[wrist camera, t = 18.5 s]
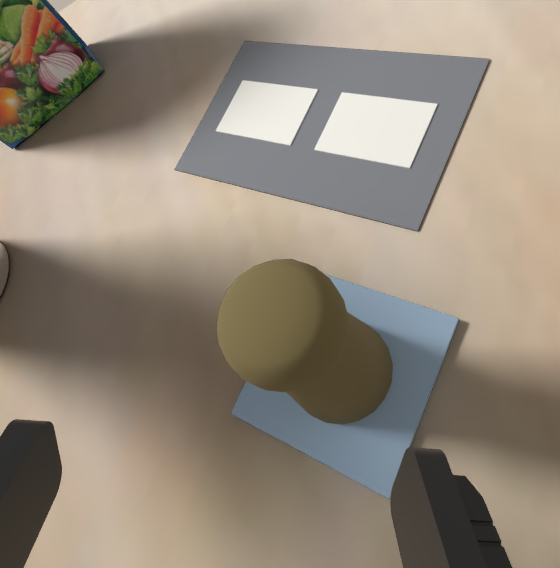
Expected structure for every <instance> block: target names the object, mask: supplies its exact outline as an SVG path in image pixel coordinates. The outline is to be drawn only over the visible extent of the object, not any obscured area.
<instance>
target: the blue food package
mask: <svg viewBox="0 0 560 568" xmlns="http://www.w3.org/2000/svg"><path fill="white" fill-rule="evenodd" d="M103 71H104V69H103V68H102V67H101V65H100V64H99V62H98V61H97V59H96V58H95V56H94V55H93V53H92V52H91V51H90V49H89V48H88V46H87V45H86V44H85V42H84V41H83V40H82V39H81V38H80V37H79V36H78V35H77V33H76V32H75V31H74V30H73V29H72V28H71V27H70V26H69V25H68V23H67V22H66V21H65V20H64V19H63V18H62V17H61V16H60V14H59V13H58V12H57V11H56V10H55V9H54V8H53V7H52V6H51V5H50V4H49V2H48V1H47V0H0V141H2V142H3V143H5V144H6V145H7V146H9V147H10V148H12V149H13V148H14V147H16V146H17V145H18V144H19V143H20V142H21V141H23V140H24V139H26V138H27V137H29V136H30V135H32V134H33V133H34V132H35V131H36V130H37V129H38V128H39V127H40V126H42V125H43V124H44V123H45V122H46V121H47V120H49V119H50V118H51V117H52V116H54V115H55V114H56V113H58V112H59V111H60V110H61V109H62V108H64V107H65V106H66V105H67V104H69V103H70V102H71V101H72V100H73V99H75V98H76V97H77V96H78V95H79V94H80V93H81V92H82V91H83V90H84V89H85V88H86V87H87V86H88V85H89V84H90V83H91V82H92V81H93V80H94V79H95V78H96V77H97V76H98V75H99V74H100V73H101V72H103Z"/></svg>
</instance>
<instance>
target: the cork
mask: <svg viewBox="0 0 560 568" xmlns="http://www.w3.org/2000/svg"><path fill="white" fill-rule="evenodd" d="M217 335H218V344H219V347H220V349H221V351H222V353H223V356H224V358H225V360H226V362H227V363H228V364H229V366H230V367H231V368H232V369H233V370H234V371H235V372H236V373H237V374H238V375H239V376H240V377H241V378H242V379H243V380H244V381H246V382H248V383H250V384H252V385H255V386H257V387H259V388H261V389H264V390H267V391H277V392H287V393H288V394H289V395H290V396H291V397H292V398H293V399H294V400H295V401H296V402H297V403H298V404H299V405H300V406H301V407H302V408H303V409H304V410H305V411H306V412H308V413H309V414H310V415H311V416H313V417H315V418H317V419H319V420H321V421H323V422H325V423H333V424H342V425H343V424H347V423H352V422H356V421H360V420H361V419H363V418H365V417H366V416H368V415H370V414H371V413H373V412H374V411H375V410H376V409H377V408H378V407H379V405H380V404H381V403H382V402H383V401H384V399H385V398H386V396H387V393H388V391H389V388H390V385H391V383H392V372H393V363H392V359H391V356H390V352H389V348H388V347H387V345H386V344H385V342H384V341H383V339H382V338H381V336H380V335H379V334H378V333H377V332H376V331H375V330H373V329H372V328H371V327H369V326H368V325H367V324H365V323H364V322H362V321H361V320H359V319H358V318H356V317H355V316H353V315H351V314H350V313H348V312H347V310H346V306H345V302H344V299H343V298H342V296H341V294H340V293H339V291H338V290H337V288H336V287H335V285H334V284H333V282H332V281H331V279H330V278H329V277H327V276H326V275H325V274H323V273H322V272H321V271H319V270H318V269H317V268H316V267H313V266H311V265H309V264H305V263H302V262H299V261H296V260H293V259H284V260H272V261H269V262H265V263H262V264H259V265H256V266H254V267H252V268H251V269H250V270H248V271H247V272H245V273H244V274H242V275H241V276H239V277H238V279H237V280H236V281H235V282H234V283H233V284H232V285H231V287H230V288H229V289H228V291H227V293H226V295H225V297H224V299H223V301H222V303H221V305H220V310H219V315H218V321H217Z"/></svg>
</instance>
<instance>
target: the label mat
mask: <svg viewBox="0 0 560 568" xmlns="http://www.w3.org/2000/svg"><path fill="white" fill-rule="evenodd" d="M489 60H490V59H486V58H473V57H459V56H445V55H432V54H418V53H404V52H390V51H377V50H363V49H349V48H336V47H322V46H308V45H294V44H281V43H267V42H253V41H245V42H244V43H243V45H242V47H241V49H240V51H239V52H238V54H237V56H236V58H235V60H234V62H233V63H232V65H231V67H230V69H229V71H228V73H227V74H226V76H225V78H224V80H223V82H222V84H221V85H220V87H219V89H218V91H217V93H216V94H215V96H214V98H213V100H212V102H211V104H210V105H209V107H208V109H207V111H206V113H205V115H204V116H203V118H202V120H201V122H200V124H199V125H198V127H197V129H196V131H195V133H194V135H193V136H192V138H191V140H190V142H189V144H188V146H187V147H186V149H185V151H184V153H183V155H182V156H181V158H180V160H179V162H178V164H177V166H176V167H175V170H177V171H181V172H185V173H189V174H193V175H197V176H201V177H205V178H209V179H213V180H217V181H221V182H225V183H228V184H232V185H236V186H240V187H244V188H248V189H252V190H256V191H260V192H264V193H268V194H272V195H276V196H280V197H284V198H288V199H292V200H296V201H300V202H304V203H307V204H311V205H315V206H319V207H323V208H327V209H331V210H335V211H339V212H343V213H347V214H351V215H355V216H359V217H363V218H367V219H371V220H375V221H379V222H383V223H386V224H390V225H394V226H398V227H402V228H406V229H410V230H414V231H418V229H419V227H420V225H421V222H422V220H423V217H424V215H425V213H426V210H427V208H428V205H429V203H430V201H431V198H432V196H433V194H434V191H435V189H436V186H437V184H438V182H439V179H440V177H441V174H442V172H443V170H444V167H445V165H446V163H447V160H448V158H449V155H450V153H451V151H452V148H453V146H454V143H455V141H456V139H457V136H458V134H459V132H460V129H461V127H462V124H463V122H464V120H465V117H466V115H467V112H468V110H469V108H470V105H471V103H472V101H473V98H474V96H475V93H476V91H477V89H478V86H479V84H480V82H481V79H482V77H483V74H484V72H485V70H486V67H487V65H488V62H489Z"/></svg>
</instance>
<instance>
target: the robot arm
mask: <svg viewBox="0 0 560 568" xmlns="http://www.w3.org/2000/svg"><path fill="white" fill-rule="evenodd" d="M8 271H9V259H8V254H7V251H6V249H5V247H4V245H2V244H1V243H0V296H1V294H2V292H3V289H4V287H5V284H6V281H7V276H8ZM61 475H62V465H61V460H60V455H59V450H58V445H57V440H56V435H55V430H54V426H53V424H52V423H51V422H48V421H33V420H18V419H16V420H13V421H12V422H10V423H9V424H8V426H7V427H6V429H5V430H4V432H3V433H2V435H1V436H0V568H24V565H25V563H26V561H27V559H28V557H29V554H30V552H31V550H32V548H33V545H34V543H35V541H36V539H37V537H38V534H39V532H40V530H41V528H42V526H43V523H44V521H45V519H46V517H47V515H48V512H49V510H50V508H51V506H52V504H53V501H54V499H55V497H56V495H57V492H58V489H59V485H60V481H61ZM391 514H392V519H393V523H394V528H395V532H396V537H397V541H398V546H399V550H400V555H401V559H402V564H403V568H512V566H511V564H510V561H509V559H508V557H507V554H506V552H505V549H504V547H502V546H501V540H500V537H499V535H498V533H497V530H496V528H495V526H493V521H492V518H491V516H490V514H489V511H488V509H487V506H486V504H485V502H484V499H483V497H482V496H481V495H480V493H479V492H478V491H477V490H476V489H475V487H474V486H473V485H472V484H471V482H470V481H469V480H468V479H467V478H466V476H459V475H453V474H452V472H451V469H450V466H449V464H448V461H447V458H446V456H445V454H444V453H443V451H441V450H439V449H425V448H410V447H409V448H407V449H406V450H405V453H404V455H403V458H402V461H401V464H400V467H399V469H398V472H397V475H396V478H395V481H394V483H393V486H392V490H391Z"/></svg>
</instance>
